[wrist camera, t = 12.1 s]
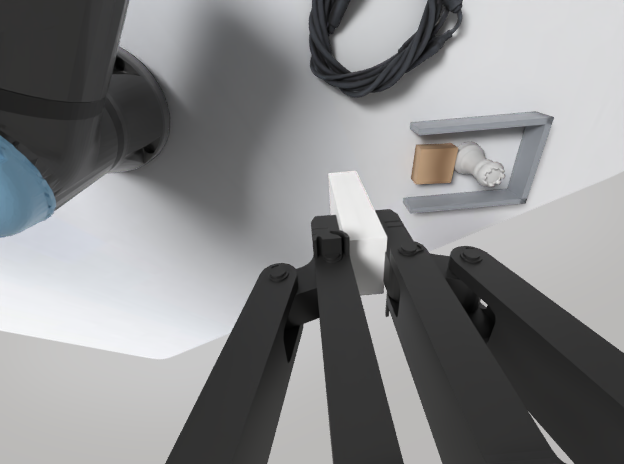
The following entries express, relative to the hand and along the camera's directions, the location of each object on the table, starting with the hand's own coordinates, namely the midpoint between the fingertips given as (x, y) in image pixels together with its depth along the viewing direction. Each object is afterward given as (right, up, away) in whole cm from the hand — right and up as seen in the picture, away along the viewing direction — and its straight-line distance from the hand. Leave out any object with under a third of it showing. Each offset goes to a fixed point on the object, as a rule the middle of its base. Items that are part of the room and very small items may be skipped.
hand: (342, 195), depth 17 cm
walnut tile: (+15, +8, +27) cm, 32 cm away
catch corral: (+20, +8, +27) cm, 35 cm away
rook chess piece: (+20, +9, +27) cm, 35 cm away
